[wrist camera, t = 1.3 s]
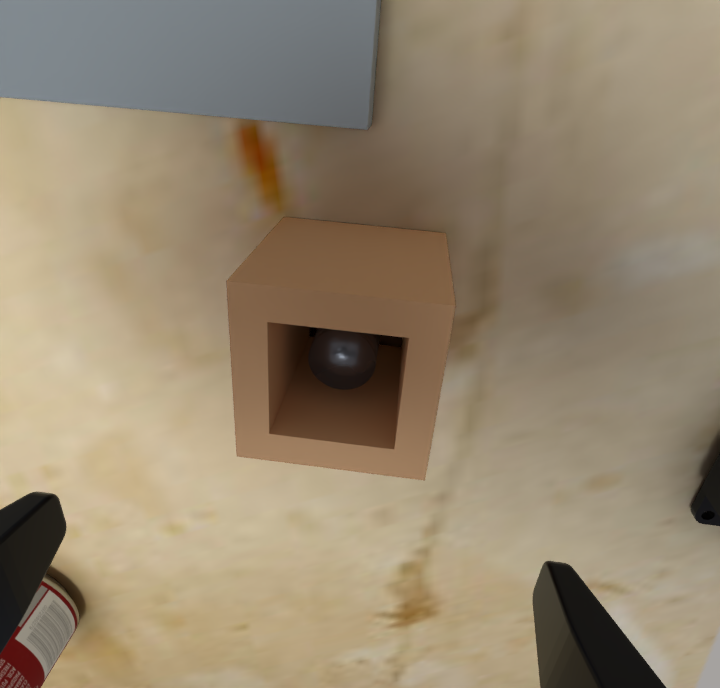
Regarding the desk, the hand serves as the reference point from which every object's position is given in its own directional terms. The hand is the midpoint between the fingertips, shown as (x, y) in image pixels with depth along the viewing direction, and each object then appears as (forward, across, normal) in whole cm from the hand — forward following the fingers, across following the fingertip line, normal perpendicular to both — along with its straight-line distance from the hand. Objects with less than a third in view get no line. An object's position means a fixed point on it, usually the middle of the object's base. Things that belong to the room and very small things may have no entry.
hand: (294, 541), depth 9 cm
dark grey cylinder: (+11, 0, 0) cm, 11 cm away
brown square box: (+11, 0, 0) cm, 11 cm away
